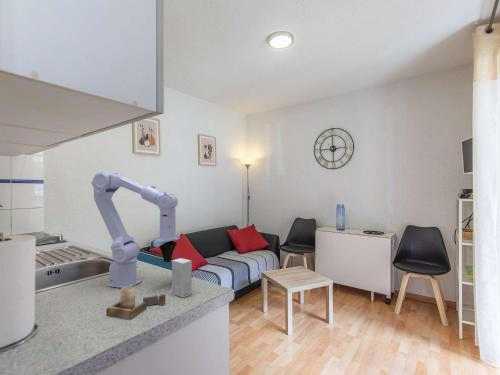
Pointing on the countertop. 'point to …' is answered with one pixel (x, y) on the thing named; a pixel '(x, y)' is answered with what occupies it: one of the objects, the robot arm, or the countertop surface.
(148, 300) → the flap right
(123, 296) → the peg
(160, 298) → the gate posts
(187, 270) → the skincare box
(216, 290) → the countertop surface
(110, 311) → the bay
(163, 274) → the countertop surface
